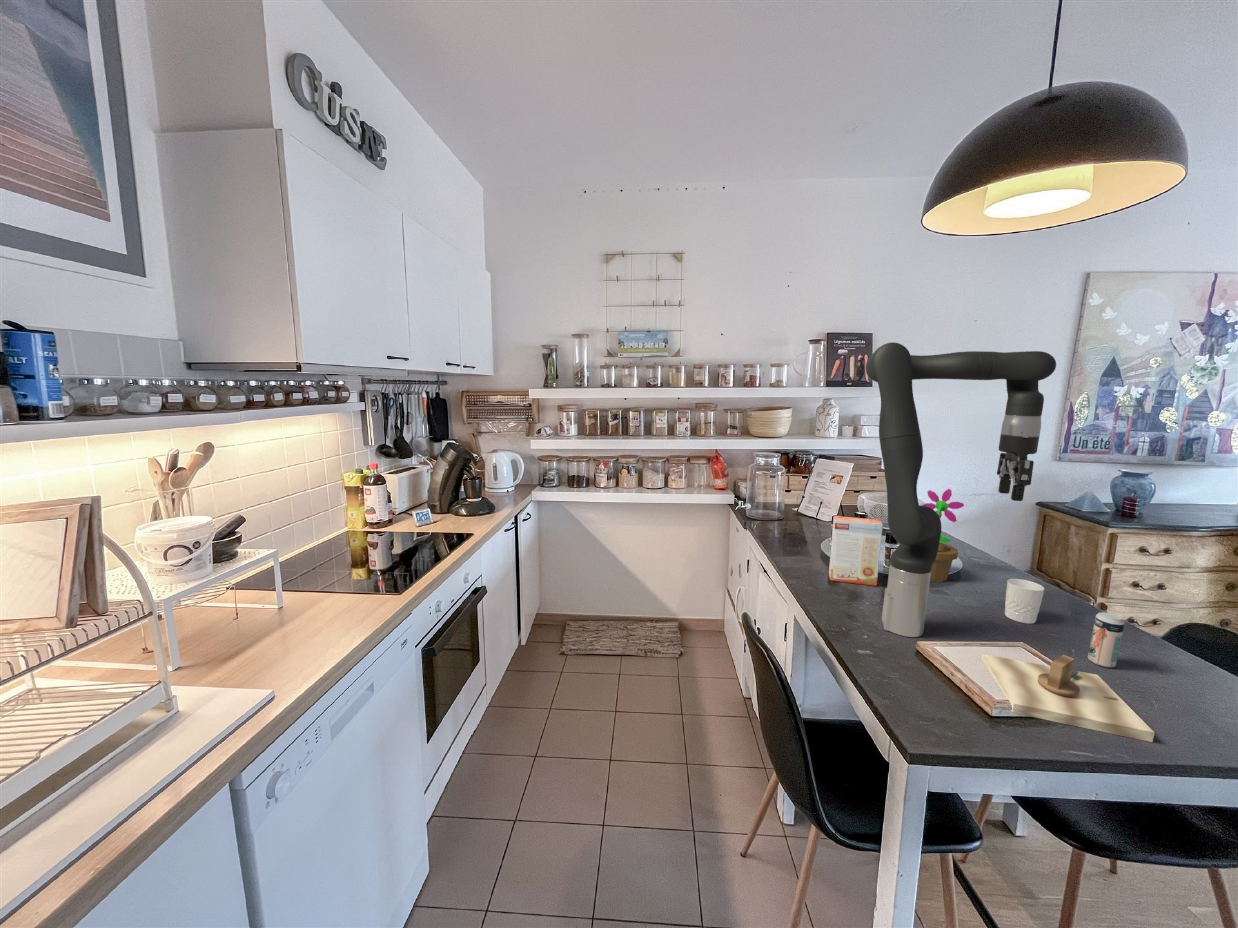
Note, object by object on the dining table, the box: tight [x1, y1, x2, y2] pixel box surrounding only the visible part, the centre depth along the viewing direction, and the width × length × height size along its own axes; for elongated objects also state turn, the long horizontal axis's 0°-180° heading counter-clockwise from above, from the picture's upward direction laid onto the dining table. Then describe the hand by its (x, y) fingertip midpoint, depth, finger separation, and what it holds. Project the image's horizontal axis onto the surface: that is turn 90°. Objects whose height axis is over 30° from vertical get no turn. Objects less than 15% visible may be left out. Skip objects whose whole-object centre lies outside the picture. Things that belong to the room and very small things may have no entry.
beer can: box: [1087, 611, 1126, 668], centre depth 112 cm, size 5×5×12 cm
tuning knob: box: [1038, 654, 1080, 697], centre depth 101 cm, size 12×6×6 cm, turn 120°
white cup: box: [1004, 578, 1045, 625], centre depth 134 cm, size 8×8×10 cm
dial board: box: [981, 653, 1156, 743], centre depth 100 cm, size 21×19×2 cm
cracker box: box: [828, 515, 884, 587], centre depth 157 cm, size 14×6×21 cm, turn 71°
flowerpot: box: [920, 488, 965, 583], centre depth 161 cm, size 14×14×30 cm
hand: (1009, 496), depth 123 cm, fingers open, 8 cm apart
